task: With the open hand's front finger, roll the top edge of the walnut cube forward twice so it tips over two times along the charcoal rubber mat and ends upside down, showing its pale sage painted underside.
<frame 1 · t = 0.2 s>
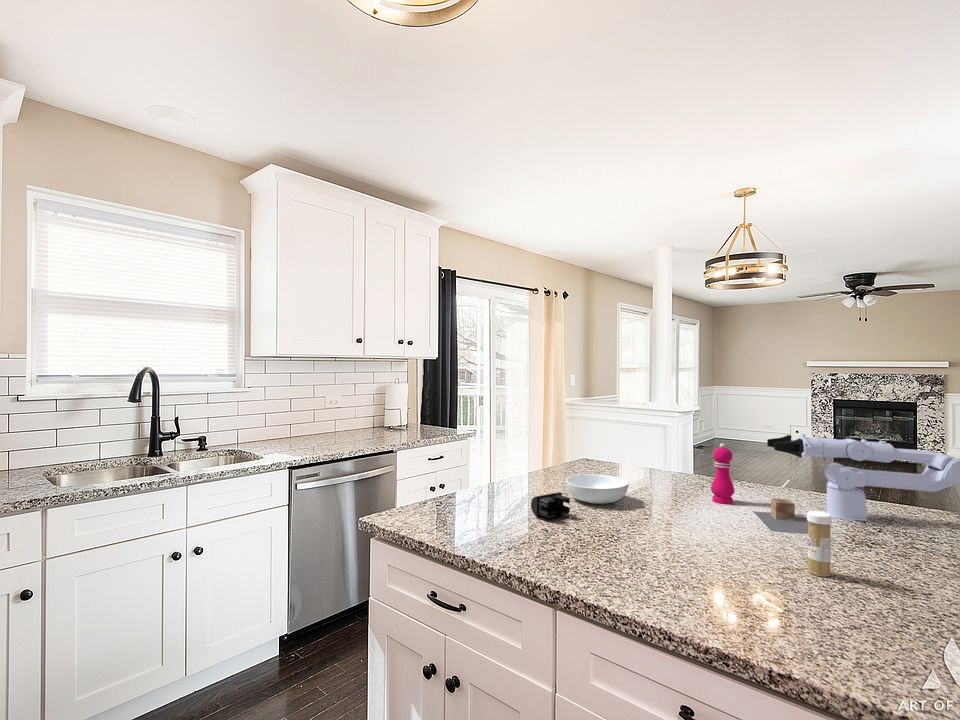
hand: (771, 444, 166), 21 cm above the counter, tool horizontal, fingers open, 7 cm apart
mat: (788, 523, 154), on the counter
end cap: (550, 517, 160), on the counter
sprinkles bottle: (819, 574, 117), on the counter
pepper mill: (722, 503, 177), on the counter
cube: (782, 517, 159), resting on mat
serving bowl: (596, 501, 179), on the counter
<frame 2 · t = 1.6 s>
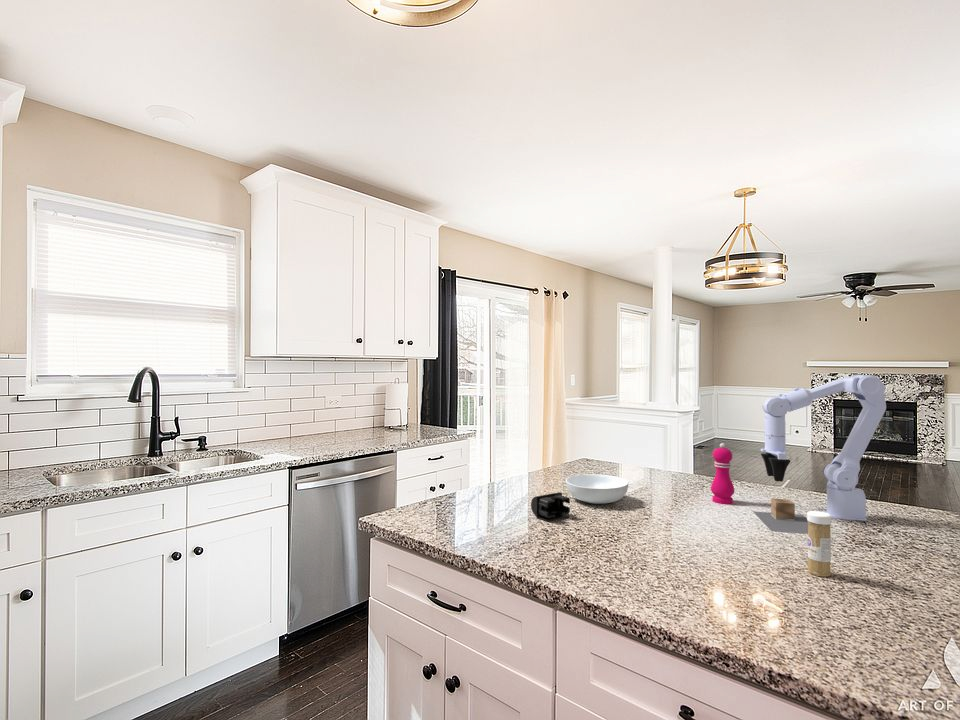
hand: (775, 478, 166), 10 cm above the counter, tool pointing down, fingers open, 7 cm apart
nothing on the counter moved.
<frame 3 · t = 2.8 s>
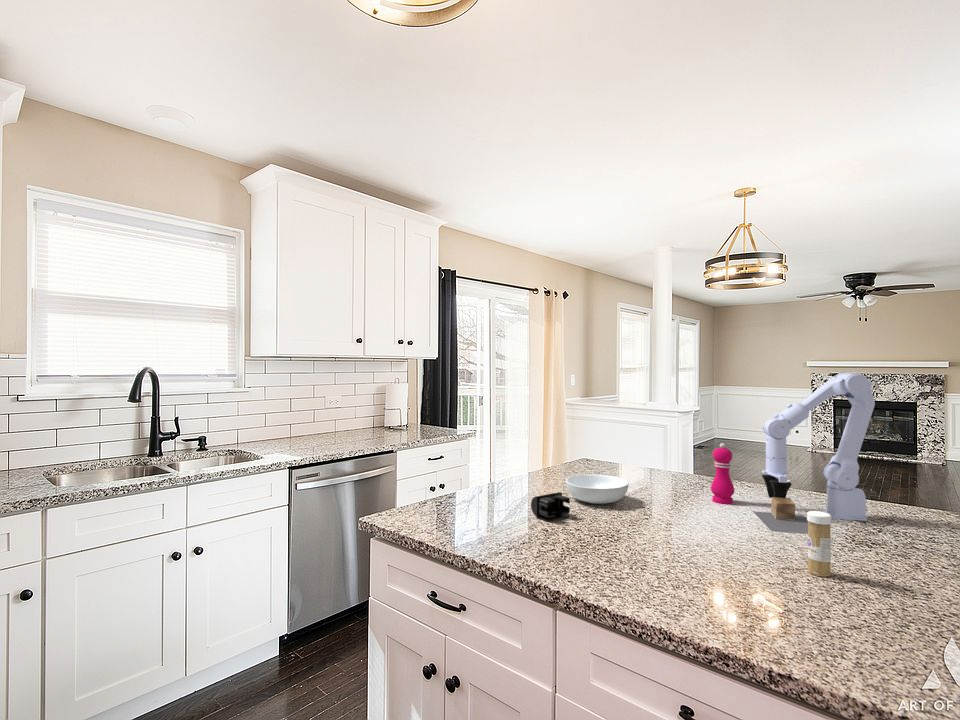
hand: (776, 500, 165), 4 cm above the counter, tool pointing down, fingers open, 7 cm apart
cube: (782, 516, 159), point 1 cm above the counter, tilted 7°, touching gripper, mat
everything else where it was.
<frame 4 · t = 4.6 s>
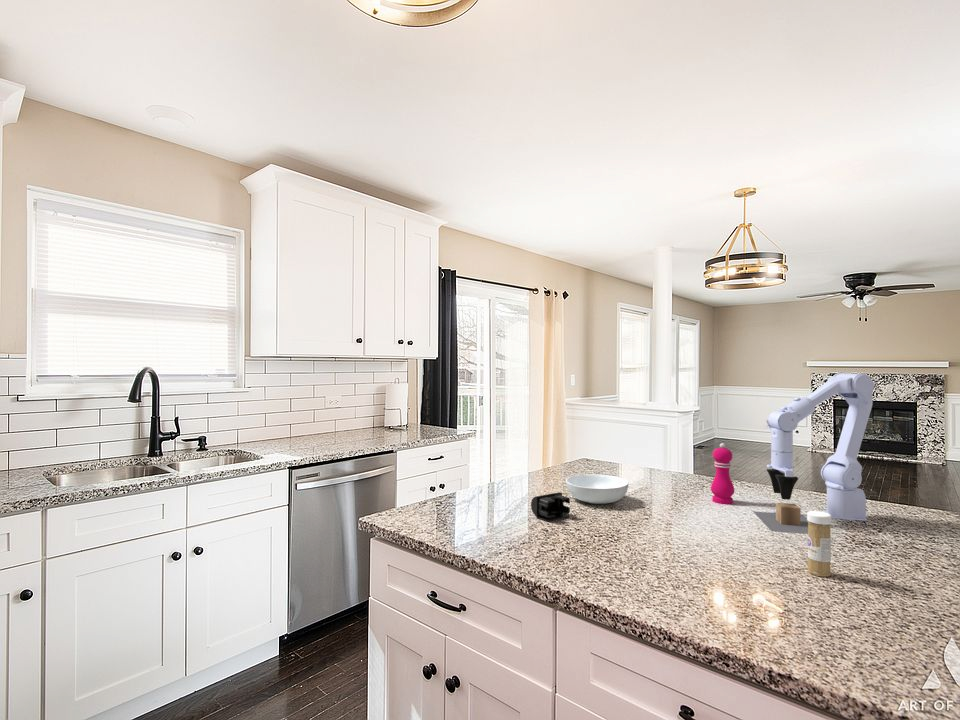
hand: (781, 496, 159), 7 cm above the counter, tool pointing down, fingers open, 7 cm apart
cube: (785, 511, 156), point 3 cm above the counter, tilted 90°, touching mat
everything else where it was.
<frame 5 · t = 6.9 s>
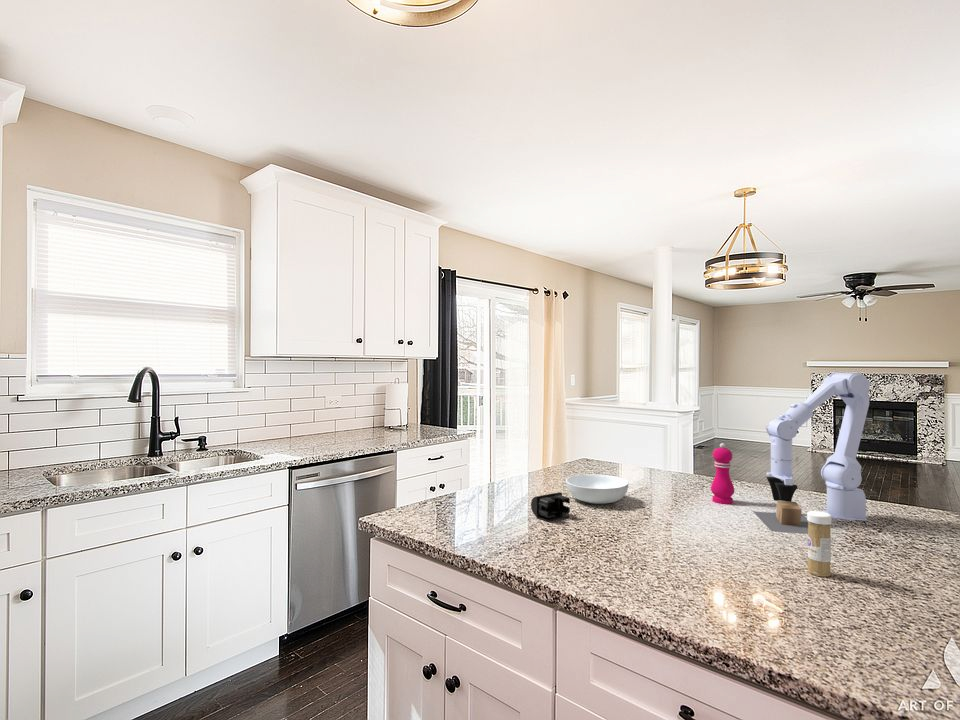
hand: (781, 503, 160), 4 cm above the counter, tool pointing down, fingers open, 7 cm apart
cube: (785, 509, 156), point 4 cm above the counter, tilted 101°, touching mat
everything else where it was.
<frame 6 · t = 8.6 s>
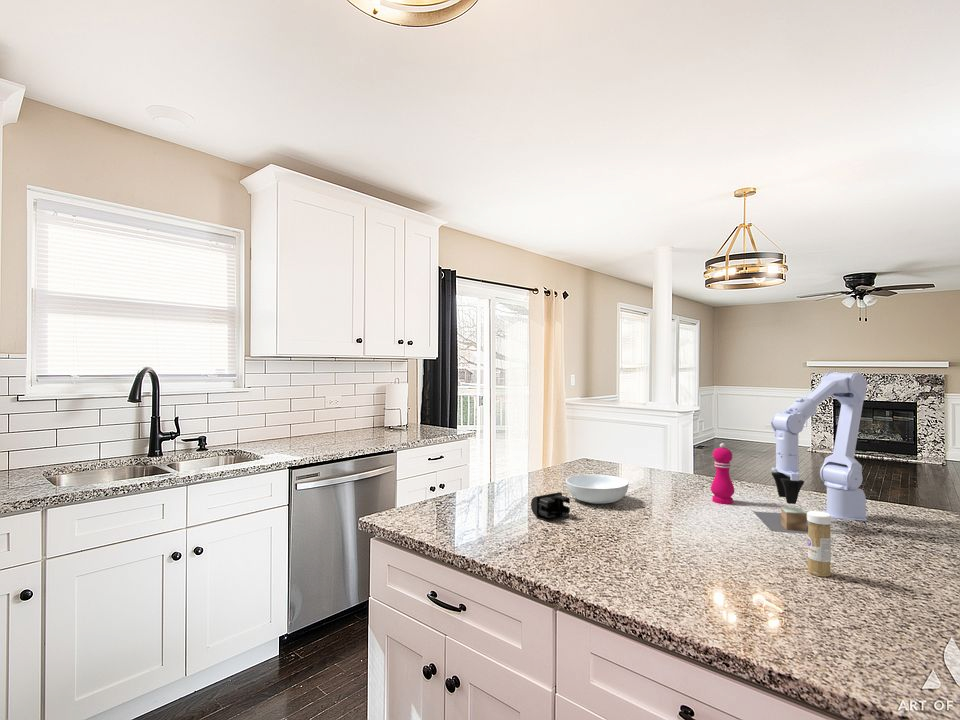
hand: (787, 500, 155), 7 cm above the counter, tool pointing down, fingers open, 7 cm apart
cube: (793, 509, 149), point 5 cm above the counter, tilted 180°, touching mat
everything else where it was.
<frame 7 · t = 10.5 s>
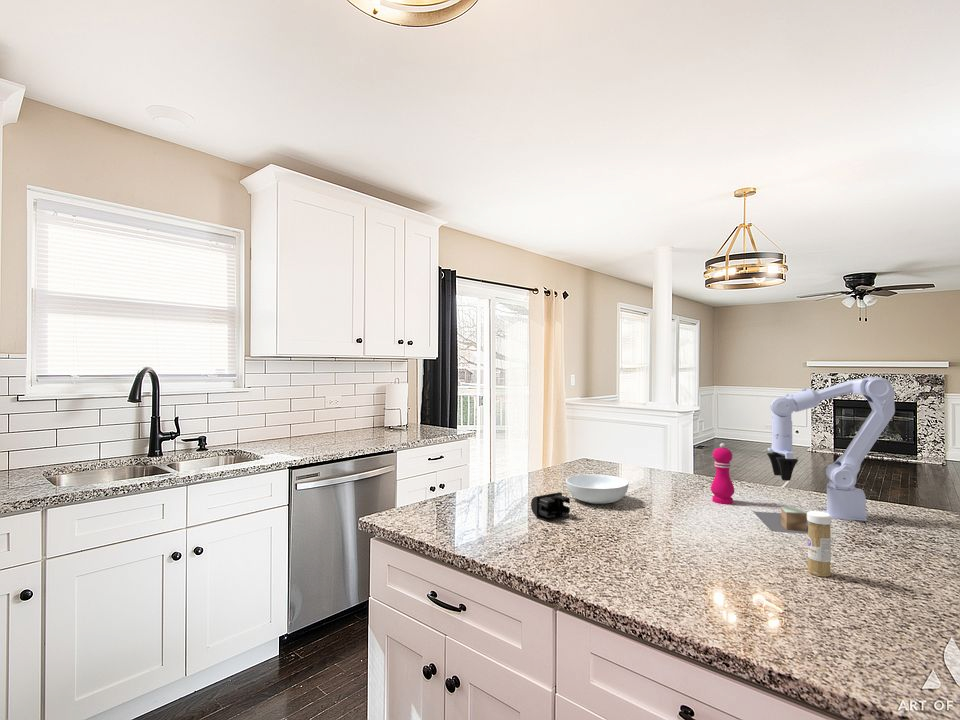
hand: (781, 477, 168), 10 cm above the counter, tool pointing down, fingers open, 7 cm apart
nothing on the counter moved.
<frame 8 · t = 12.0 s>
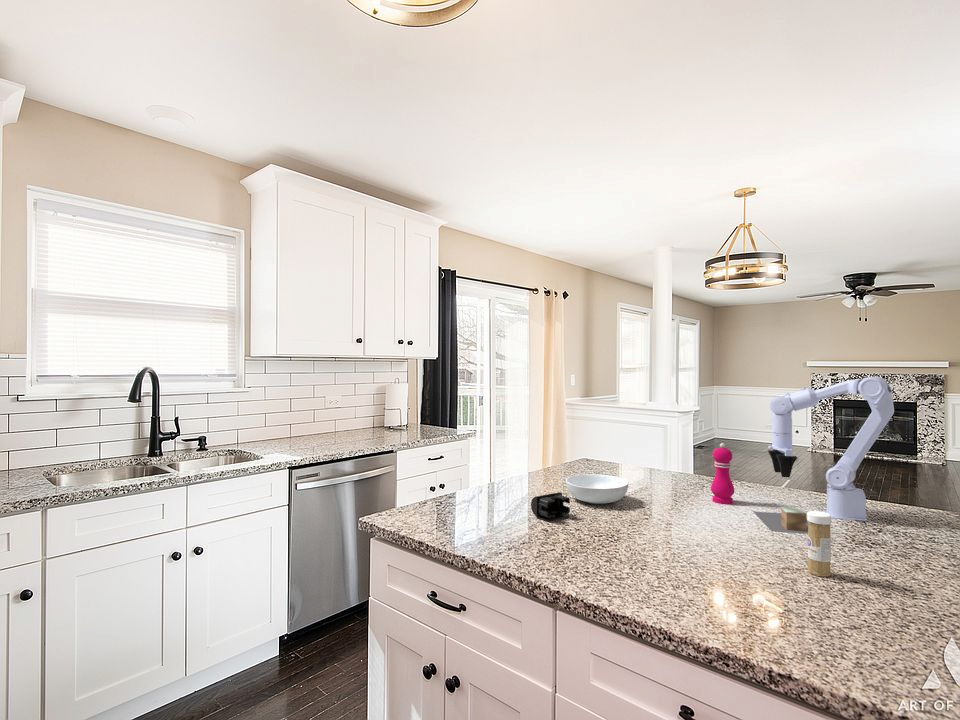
hand: (782, 474, 172), 10 cm above the counter, tool pointing down, fingers open, 7 cm apart
nothing on the counter moved.
at the end: cube inside the target area (1.0 cm from its centre), point 5.3 cm above the counter; cube tilted 180° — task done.
